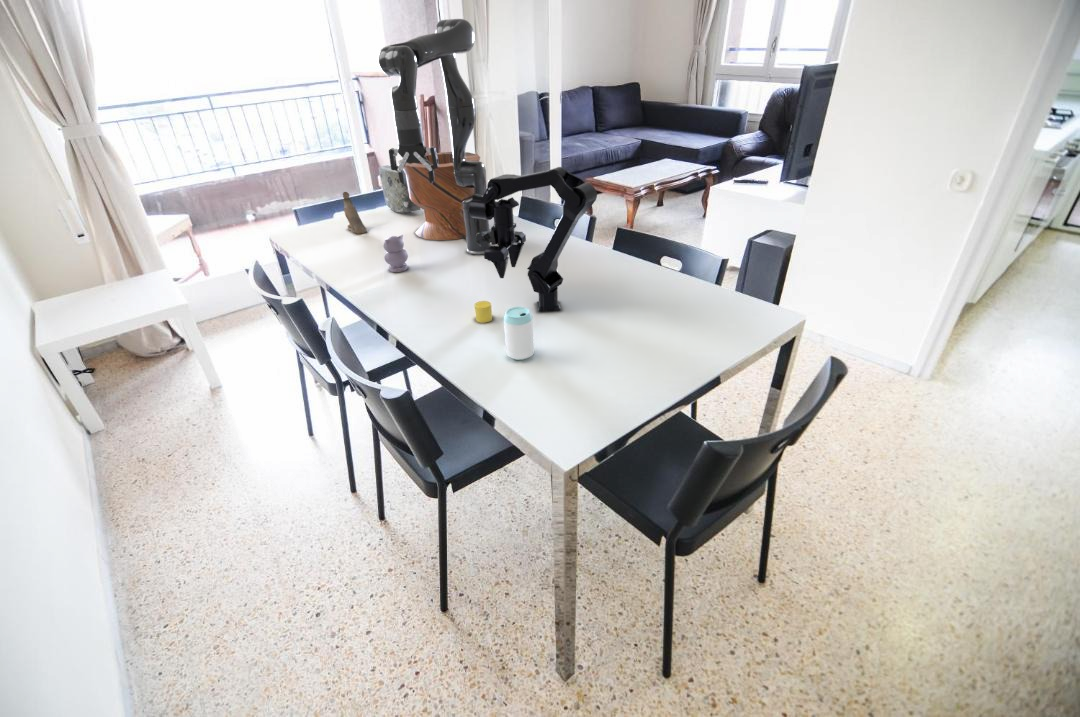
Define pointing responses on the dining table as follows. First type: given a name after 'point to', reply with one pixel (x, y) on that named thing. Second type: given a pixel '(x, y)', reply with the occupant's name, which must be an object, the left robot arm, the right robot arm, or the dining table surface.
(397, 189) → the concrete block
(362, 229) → the brown carved statuette
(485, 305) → the canister
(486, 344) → the dining table surface
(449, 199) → the wooden planter
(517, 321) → the can
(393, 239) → the cat figurine
